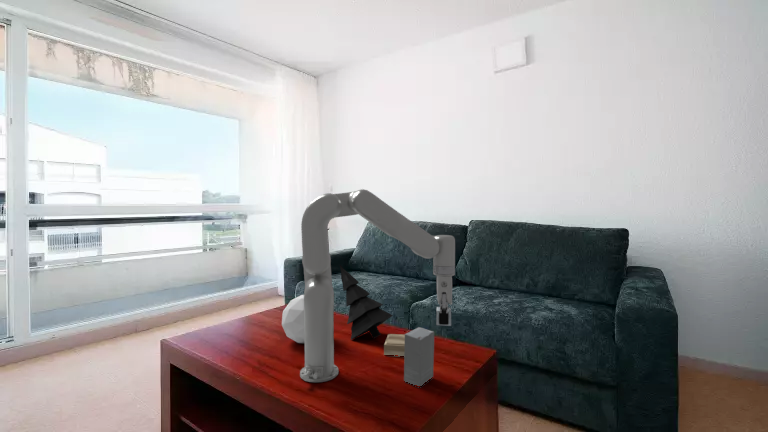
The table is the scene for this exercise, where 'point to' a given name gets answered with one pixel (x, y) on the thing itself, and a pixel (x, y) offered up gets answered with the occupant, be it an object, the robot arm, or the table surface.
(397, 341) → the plinth
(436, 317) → the block
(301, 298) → the geometric sculpture
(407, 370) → the skincare box
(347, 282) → the decorative tree
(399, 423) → the table surface
